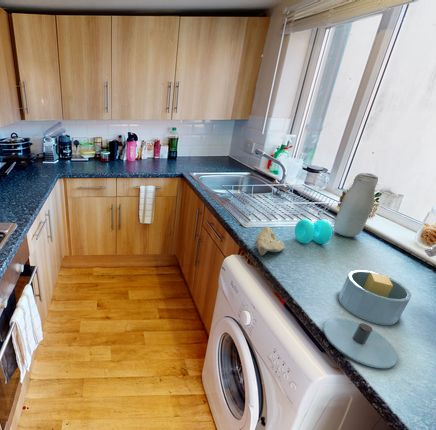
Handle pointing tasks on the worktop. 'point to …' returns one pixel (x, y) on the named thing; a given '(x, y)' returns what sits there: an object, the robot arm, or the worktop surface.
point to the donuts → (313, 231)
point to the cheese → (268, 241)
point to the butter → (378, 284)
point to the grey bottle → (356, 205)
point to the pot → (373, 299)
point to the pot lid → (360, 343)
